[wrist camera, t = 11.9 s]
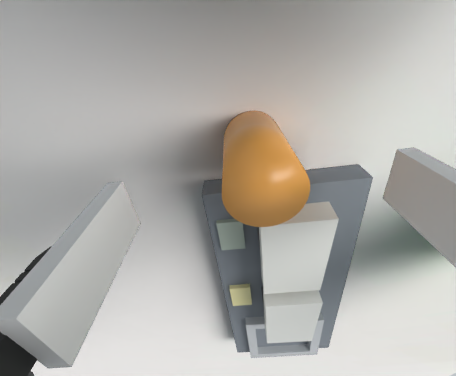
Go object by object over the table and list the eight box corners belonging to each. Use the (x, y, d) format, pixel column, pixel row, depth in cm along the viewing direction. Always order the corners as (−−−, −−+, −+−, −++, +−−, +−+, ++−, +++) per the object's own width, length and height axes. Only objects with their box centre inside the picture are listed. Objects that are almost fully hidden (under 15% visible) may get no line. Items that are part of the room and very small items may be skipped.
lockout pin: (220, 114, 15) (215, 159, 9) (279, 107, 15) (313, 148, 9) (227, 167, 17) (227, 230, 11) (279, 161, 17) (307, 223, 11)
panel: (204, 181, 18) (200, 205, 15) (358, 164, 17) (382, 186, 14) (237, 336, 32) (237, 363, 29) (322, 331, 31) (332, 358, 28)
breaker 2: (262, 288, 19) (265, 306, 17) (316, 284, 18) (322, 302, 17) (265, 326, 24) (267, 343, 22) (307, 324, 23) (311, 340, 22)
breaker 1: (257, 208, 14) (260, 226, 13) (329, 201, 14) (338, 219, 13) (261, 276, 19) (264, 294, 18) (314, 272, 19) (320, 290, 18)
